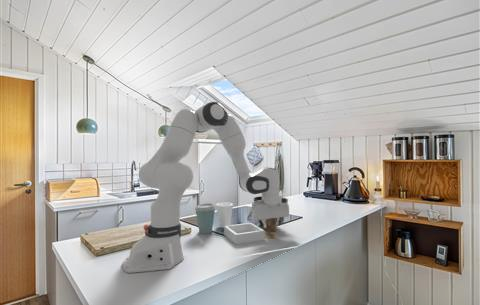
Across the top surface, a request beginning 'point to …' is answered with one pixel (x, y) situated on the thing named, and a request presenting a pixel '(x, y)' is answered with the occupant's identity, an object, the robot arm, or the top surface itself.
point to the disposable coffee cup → (205, 217)
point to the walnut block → (271, 225)
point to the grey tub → (244, 233)
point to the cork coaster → (271, 236)
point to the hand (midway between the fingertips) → (270, 227)
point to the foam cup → (224, 214)
